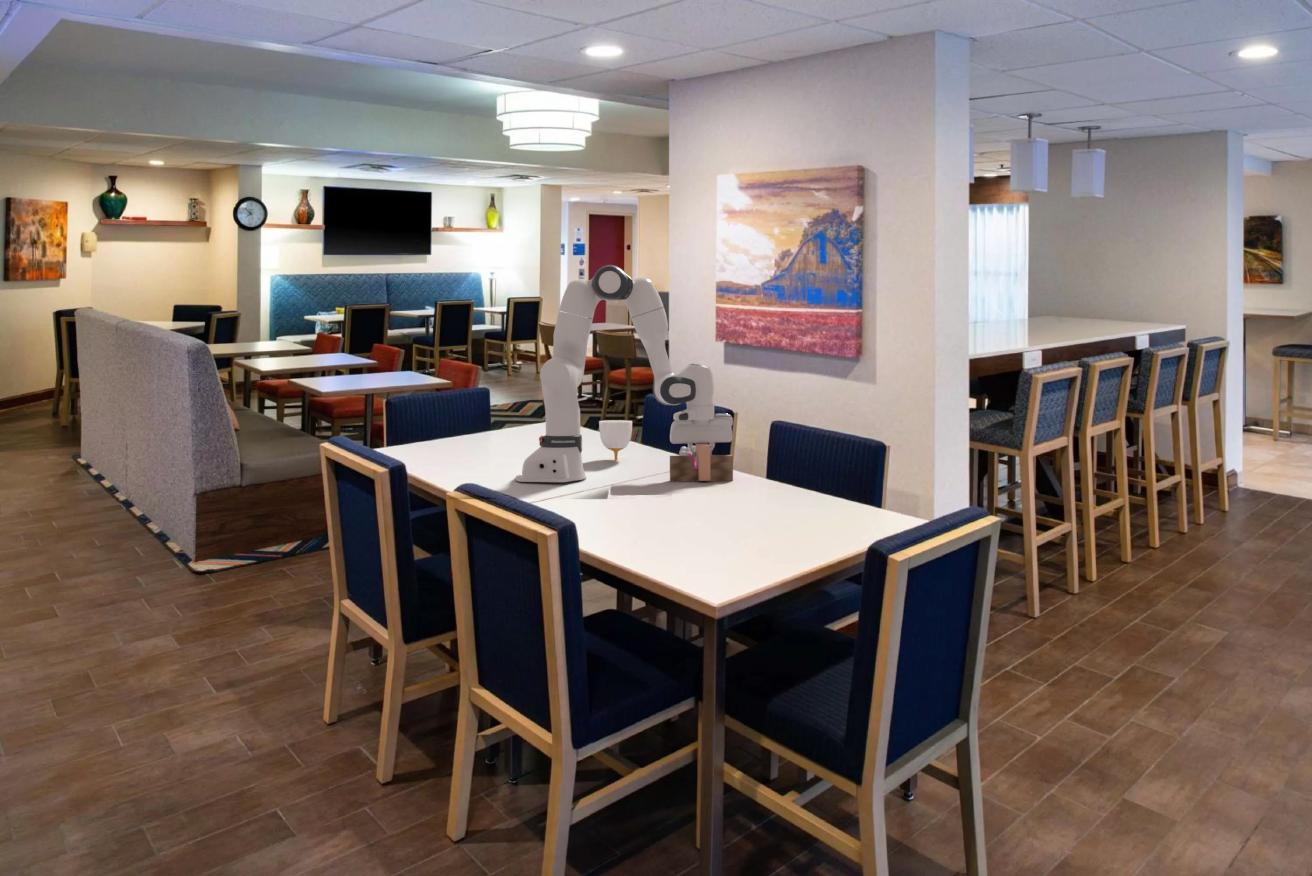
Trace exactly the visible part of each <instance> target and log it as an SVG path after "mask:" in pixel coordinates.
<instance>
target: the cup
mask: <svg viewBox="0 0 1312 876" xmlns="http://www.w3.org/2000/svg"><path fill="white" fill-rule="evenodd" d="M598 425H599V426H598V427H599V428H598V429H599V430H598V431H599V437H600V440H601V443H602V445H603V447H605V448H606V449H607V450H610V451H611V452H613V453H614V461H618V454H619V452H620V451H622V450H623V449H626V448H627V447H628V445H629V444H630V442H631V438H632V432H633V420H626V419H625V420H624V419H622V420H621V419H618V420H617V419H616V420H615V419H613V420H612V419H611V420H610V419H609V420H608V419H607V420H599V421H598Z"/></svg>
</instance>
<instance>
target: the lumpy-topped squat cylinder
mask: <svg viewBox="0 0 1312 876" xmlns="http://www.w3.org/2000/svg"><path fill="white" fill-rule="evenodd" d="M691 448H692V449H693V451H696V450H695V445H693V447H691ZM688 453H691V451H690V449H689V447H688V446H687V447H686V446H681V447H680V450H679V453H678V454H679V455H678V456H688Z"/></svg>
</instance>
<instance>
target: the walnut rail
mask: <svg viewBox="0 0 1312 876" xmlns="http://www.w3.org/2000/svg"><path fill="white" fill-rule="evenodd" d="M733 470H734V456H733V454H712V455H710V475H711V481H710V482H729V481H730V482H733V481H734V471H733ZM669 481H670V482H700V481H699V480H698V469H694V456H693V455H690V456H679V455H669Z"/></svg>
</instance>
